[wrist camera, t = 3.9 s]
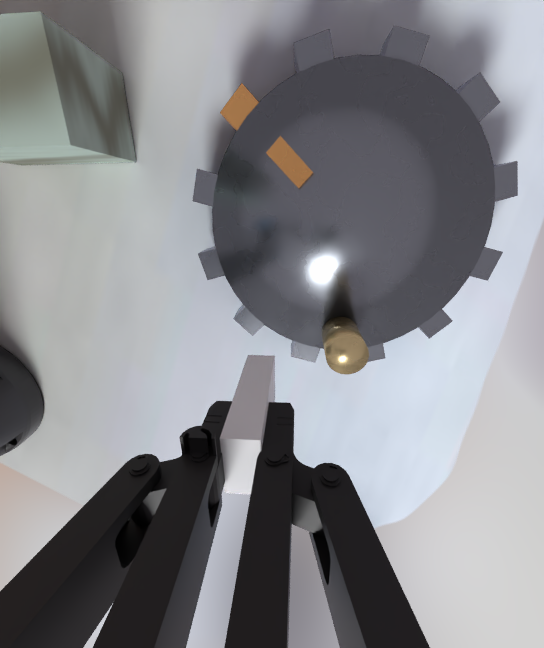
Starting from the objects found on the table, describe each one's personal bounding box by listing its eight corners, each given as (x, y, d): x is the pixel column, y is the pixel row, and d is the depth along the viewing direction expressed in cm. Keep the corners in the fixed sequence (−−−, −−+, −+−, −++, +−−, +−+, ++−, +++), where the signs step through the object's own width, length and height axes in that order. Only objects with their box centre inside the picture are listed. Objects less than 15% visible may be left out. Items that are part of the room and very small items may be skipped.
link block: (136, 162, 25) (70, 145, 18) (22, 165, 26) (-86, 150, 19) (122, 72, 23) (40, 11, 16) (-2, 79, 24) (-136, 22, 16)
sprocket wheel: (457, 351, 28) (505, 394, 22) (216, 346, 30) (194, 386, 24) (529, 40, 20) (641, -38, 14) (190, 57, 22) (145, -5, 15)
